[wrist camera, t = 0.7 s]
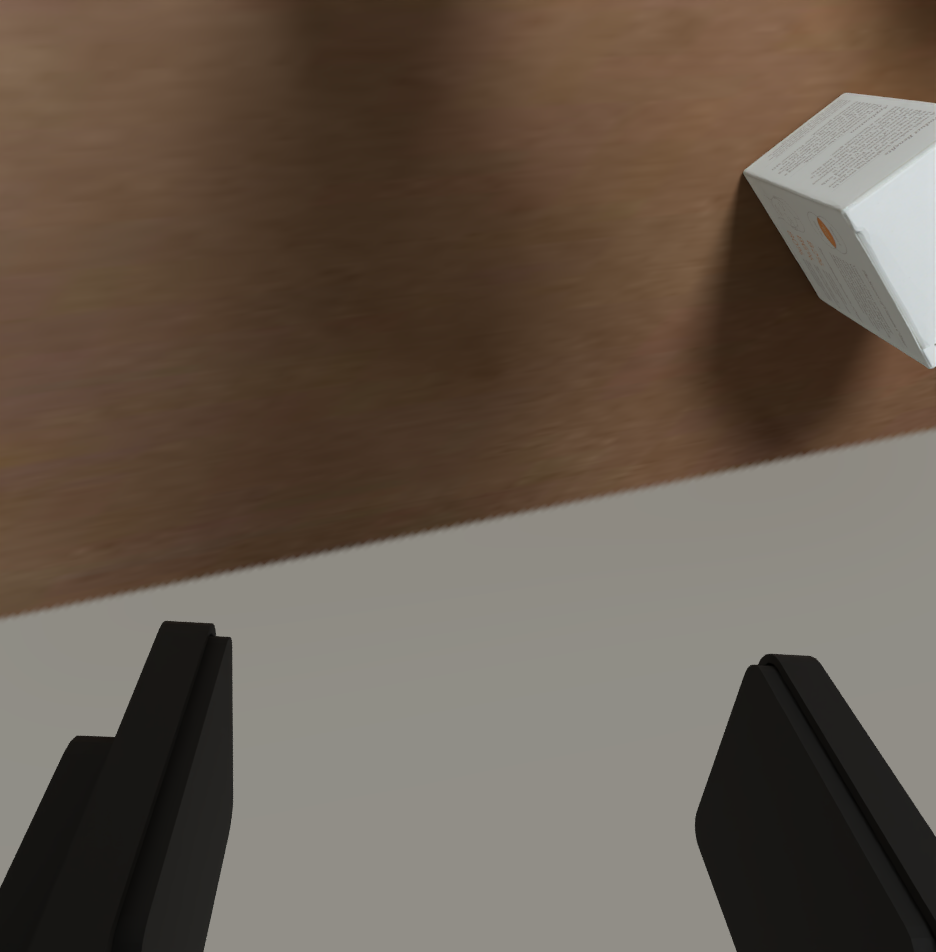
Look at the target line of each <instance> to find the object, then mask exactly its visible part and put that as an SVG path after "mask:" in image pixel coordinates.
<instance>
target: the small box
mask: <svg viewBox="0 0 936 952" xmlns="http://www.w3.org/2000/svg"><path fill="white" fill-rule="evenodd" d="M743 174H744V176H745V177H746V179H747V180H748V182H749V184H750V185H751V187H752V188H753V190H754V192H755V193H756V195H757V197H758V198H759V200H760V201H761V203H762V205H763V206H764V208H765V210H766V211H767V213H768V214H769V216H770V218H771V219H772V221H773V223H774V224H775V226H776V228H777V229H778V231H779V232H780V234H781V235H782V237H783V239H784V240H785V242H786V244H787V245H788V247H789V249H790V250H791V252H792V254H793V255H794V257H795V259H796V260H797V262H798V263H799V265H800V266H801V268H802V270H803V271H804V273H805V275H806V276H807V278H808V280H809V281H810V283H811V285H812V286H813V288H814V289H815V291H816V293H817V295H818V297H819V298H820V299H821V300H823V301H824V302H826V303H827V304H829V305H830V306H832V307H833V308H835V309H836V310H838V311H839V312H841V313H842V314H844V315H846V316H847V317H849V318H850V319H852V320H853V321H855V322H856V323H858V324H860V325H861V326H863V327H864V328H866V329H867V330H869V331H870V332H872V333H874V334H876V335H877V336H878V337H880V338H882V339H883V340H885V341H886V342H888V343H890V344H891V345H893V346H895V347H896V348H898V349H899V350H901V351H902V352H904V353H906V354H907V355H909V356H910V357H912V358H913V359H915V360H916V361H918V362H920V363H921V364H923V365H924V366H926V367H927V368H929V369H932V368H934V367H935V366H936V103H930V102H922V101H913V100H905V99H896V98H888V97H879V96H871V95H862V94H853V93H844V94H842V95H841V96H839V97H838V98H837V99H836V100H834V101H833V102H832V103H830V104H829V105H828V106H826V107H825V108H824V109H823V110H821V111H820V112H819V113H817V114H816V115H815V116H813V117H812V118H811V119H809V120H808V121H807V122H806V123H804V124H803V125H802V126H800V127H799V128H798V129H797V130H795V131H794V132H793V133H791V134H790V135H789V136H787V137H786V138H785V139H784V140H782V141H781V142H780V143H778V144H777V145H776V146H775V147H773V148H772V149H771V150H769V151H768V152H767V153H766V154H764V155H763V156H762V157H760V158H759V159H758V160H757V161H755V162H754V163H753V164H752V165H750V166H749V167H748V168H746V169H745V170H744V172H743Z"/></svg>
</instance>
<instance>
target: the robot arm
mask: <svg viewBox="0 0 936 952" xmlns="http://www.w3.org/2000/svg"><path fill="white" fill-rule="evenodd" d="M232 715H233V713H232V640H231V638H230V637H219V636H216V632H215V626H214V625H213V624H212V623H194V622H174V621H164V622H163V623H162V625H161V627H160V629H159V631H158V633H157V636H156V638H155V641H154V643H153V646H152V648H151V651H150V653H149V656H148V658H147V660H146V663H145V665H144V668H143V670H142V673H141V675H140V678H139V680H138V683H137V685H136V687H135V690H134V693H133V695H132V697H131V700H130V702H129V705H128V707H127V709H126V712H125V714H124V717H123V719H122V722H121V724H120V727H119V729H118V731H117V734H116V736H115V737H99V736H98V737H97V736H76V737H75V738H74V739H73V740H72V741H71V742H70V743H69V745H68V747H67V748H66V750H65V752H64V754H63V756H62V758H61V760H60V762H59V764H58V766H57V769H56V771H55V773H54V775H53V777H52V779H51V781H50V783H49V785H48V788H47V790H46V792H45V794H44V796H43V798H42V800H41V802H40V804H39V807H38V809H37V811H36V813H35V815H34V817H33V819H32V821H31V824H30V826H29V828H28V830H27V832H26V834H25V836H24V838H23V841H22V843H21V845H20V847H19V849H18V851H17V853H16V855H15V858H14V860H13V862H12V864H11V866H10V868H9V870H8V872H7V875H6V877H5V879H4V881H3V883H2V885H1V887H0V952H203V950H204V946H205V941H206V937H207V932H208V928H209V923H210V919H211V914H212V909H213V905H214V900H215V895H216V891H217V885H218V881H219V877H220V872H221V868H222V863H223V859H224V854H225V849H226V845H227V840H228V835H229V830H230V825H231V818H232V808H233V724H232V723H233V722H232V721H233V718H232V717H233V716H232ZM695 833H696V839H697V843H698V846H699V849H700V852H701V855H702V857H703V860H704V863H705V866H706V868H707V871H708V874H709V876H710V879H711V882H712V885H713V888H714V890H715V893H716V896H717V898H718V901H719V904H720V907H721V909H722V912H723V915H724V918H725V920H726V923H727V926H728V929H729V931H730V934H731V937H732V939H733V942H734V945H735V948H736V951H737V952H936V837H935V835H934V834H933V832H932V830H931V829H930V827H929V826H928V825H927V823H926V821H925V820H924V818H923V817H922V816H921V814H920V813H919V811H918V809H917V808H916V807H915V805H914V803H913V802H912V800H911V799H910V797H909V796H908V794H907V793H906V791H905V790H904V788H903V787H902V785H901V784H900V783H899V781H898V779H897V778H896V776H895V775H894V773H893V772H892V770H891V769H890V767H889V766H888V764H887V763H886V761H885V760H884V758H883V757H882V755H881V754H880V752H879V751H878V749H877V748H876V746H875V745H874V743H873V742H872V740H871V739H870V737H869V736H868V735H867V733H866V731H865V730H864V728H863V727H862V725H861V724H860V722H859V721H858V720H857V718H856V716H855V715H854V713H853V712H852V710H851V709H850V707H849V706H848V704H847V703H846V701H845V700H844V698H843V697H842V695H841V694H840V692H839V691H838V689H837V688H836V686H835V685H834V683H833V682H832V680H831V679H830V677H829V676H828V674H827V673H826V671H825V670H824V668H823V667H822V665H821V664H820V663H819V662H818V660H816V658H814V657H811V656H799V655H782V654H767V655H765V656H764V657H762V659H761V660H760V662H759V664H758V665H750V666H749V667H748V668H747V670H746V672H745V675H744V678H743V680H742V684H741V686H740V689H739V692H738V695H737V698H736V701H735V704H734V706H733V709H732V712H731V715H730V718H729V721H728V724H727V726H726V729H725V732H724V735H723V738H722V741H721V744H720V747H719V750H718V752H717V755H716V758H715V761H714V764H713V767H712V770H711V773H710V776H709V778H708V781H707V784H706V787H705V790H704V793H703V796H702V798H701V802H700V804H699V807H698V810H697V813H696V818H695Z"/></svg>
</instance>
